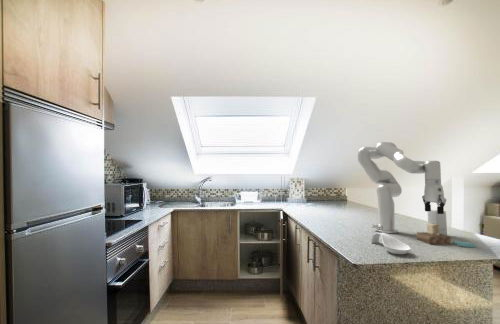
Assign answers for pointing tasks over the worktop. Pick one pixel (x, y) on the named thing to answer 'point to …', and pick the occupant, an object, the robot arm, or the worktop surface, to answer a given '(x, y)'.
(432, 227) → the maple peg
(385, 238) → the spoon rest
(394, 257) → the worktop surface
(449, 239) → the walnut socket block
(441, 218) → the skincare box
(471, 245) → the teal rubber pad
